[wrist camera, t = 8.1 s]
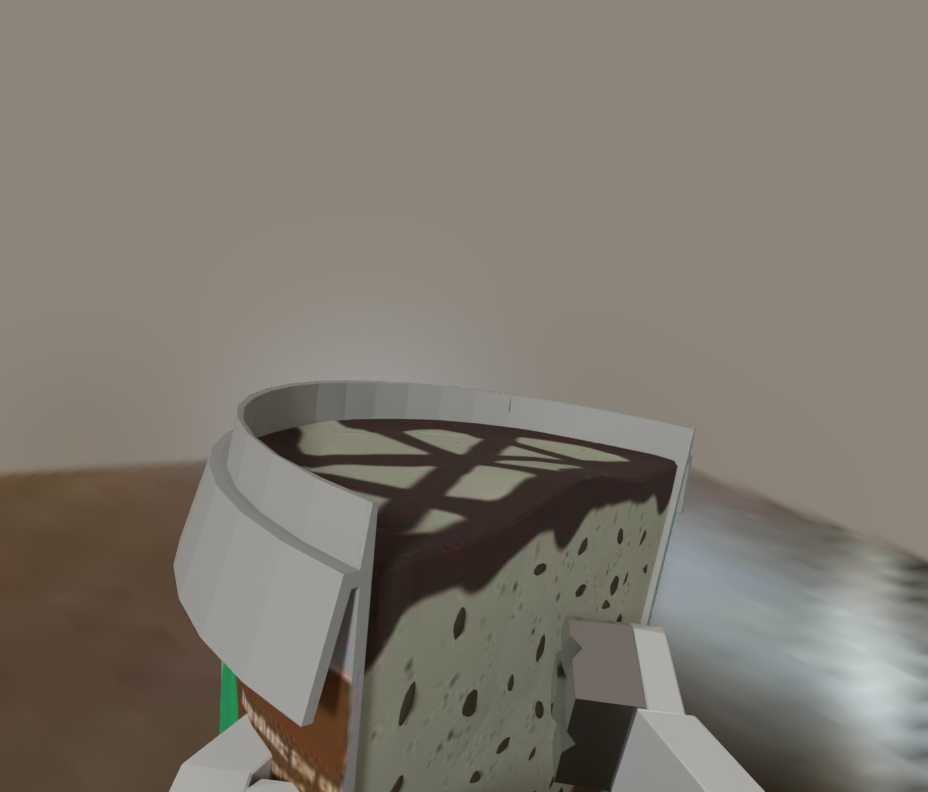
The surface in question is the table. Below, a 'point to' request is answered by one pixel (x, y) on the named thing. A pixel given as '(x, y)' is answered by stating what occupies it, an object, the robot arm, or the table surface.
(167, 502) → the table surface
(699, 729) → the robot arm
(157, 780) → the table surface
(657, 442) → the food container
